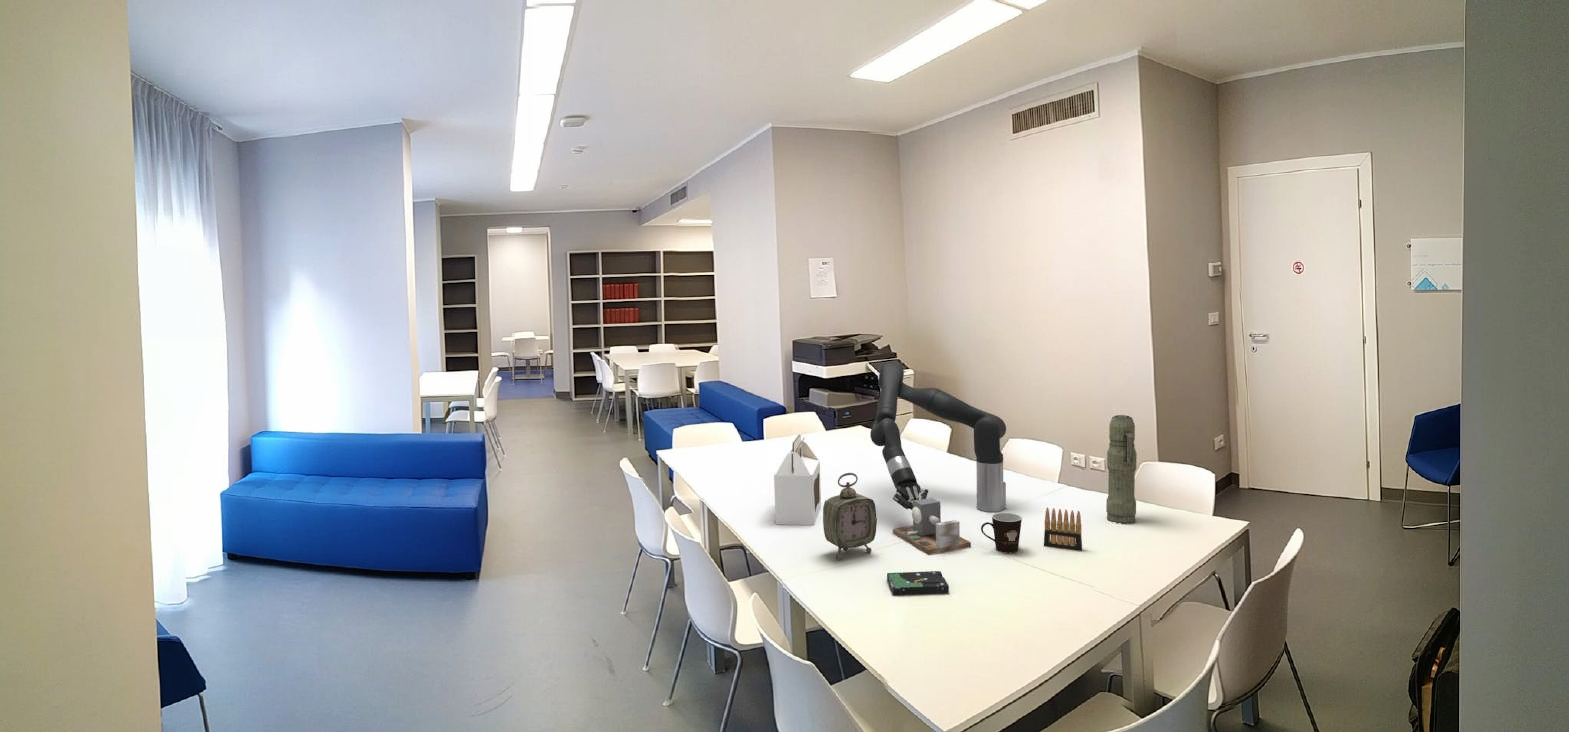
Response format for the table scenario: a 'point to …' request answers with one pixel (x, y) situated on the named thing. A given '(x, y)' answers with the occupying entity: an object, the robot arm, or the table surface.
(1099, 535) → the table surface
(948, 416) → the robot arm
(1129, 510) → the thermos
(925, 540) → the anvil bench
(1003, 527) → the coffee mug
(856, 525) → the tabletop clock
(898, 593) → the disk drive
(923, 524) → the block
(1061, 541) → the ammunition clip
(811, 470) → the gable box
